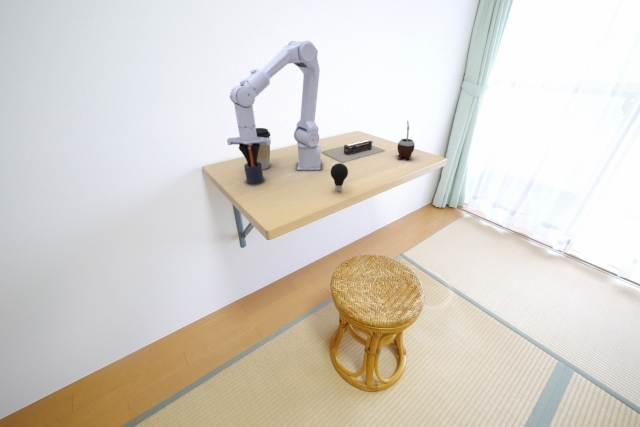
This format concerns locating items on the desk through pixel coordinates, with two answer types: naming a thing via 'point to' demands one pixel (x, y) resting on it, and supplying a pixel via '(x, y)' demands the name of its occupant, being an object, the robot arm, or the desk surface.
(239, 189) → the desk surface
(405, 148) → the mate gourd
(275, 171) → the desk surface
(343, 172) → the light bulb
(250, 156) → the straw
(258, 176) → the navy hollow cylinder
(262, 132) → the coffee cup
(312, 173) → the desk surface
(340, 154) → the model train on plate
